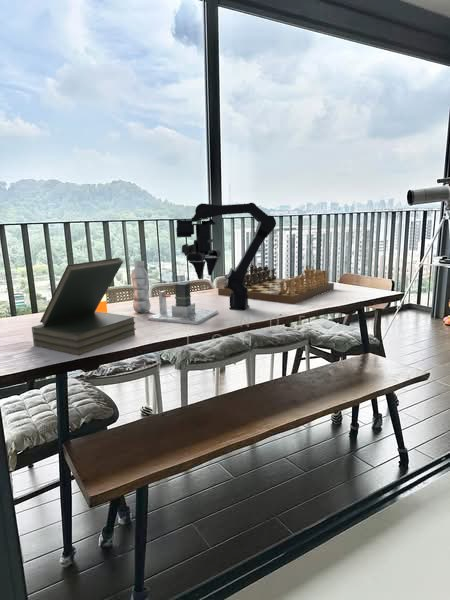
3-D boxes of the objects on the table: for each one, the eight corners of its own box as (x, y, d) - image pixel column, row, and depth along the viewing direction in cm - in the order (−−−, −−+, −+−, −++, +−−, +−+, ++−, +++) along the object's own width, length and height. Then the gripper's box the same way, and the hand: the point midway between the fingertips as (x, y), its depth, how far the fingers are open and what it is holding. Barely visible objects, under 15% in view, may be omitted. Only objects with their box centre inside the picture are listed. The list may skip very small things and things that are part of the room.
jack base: (218, 312, 161) (217, 289, 159) (197, 324, 144) (196, 298, 142) (172, 309, 168) (171, 287, 166) (147, 320, 152) (146, 295, 150)
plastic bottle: (147, 314, 161) (144, 262, 157) (130, 314, 162) (127, 262, 158) (153, 310, 167) (150, 260, 163) (137, 310, 168) (134, 260, 164)
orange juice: (96, 312, 166) (92, 262, 162) (108, 316, 160) (103, 263, 156) (77, 316, 161) (72, 264, 157) (88, 319, 154) (83, 265, 150)
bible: (93, 328, 144) (86, 255, 139) (136, 335, 134) (130, 257, 129) (33, 347, 124) (23, 263, 119) (78, 356, 115) (69, 266, 110)
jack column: (191, 304, 156) (190, 282, 155) (185, 306, 153) (184, 284, 151) (181, 303, 158) (180, 282, 156) (175, 306, 154) (174, 284, 153)
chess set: (333, 290, 204) (334, 260, 201) (294, 305, 172) (294, 270, 169) (263, 283, 227) (263, 256, 224) (218, 296, 196) (217, 264, 193)
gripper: (195, 235, 173) (197, 273, 176) (173, 238, 156) (175, 279, 159) (220, 235, 168) (221, 274, 171) (200, 238, 151) (201, 281, 155)
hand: (204, 277), depth 164 cm, fingers open, 9 cm apart
